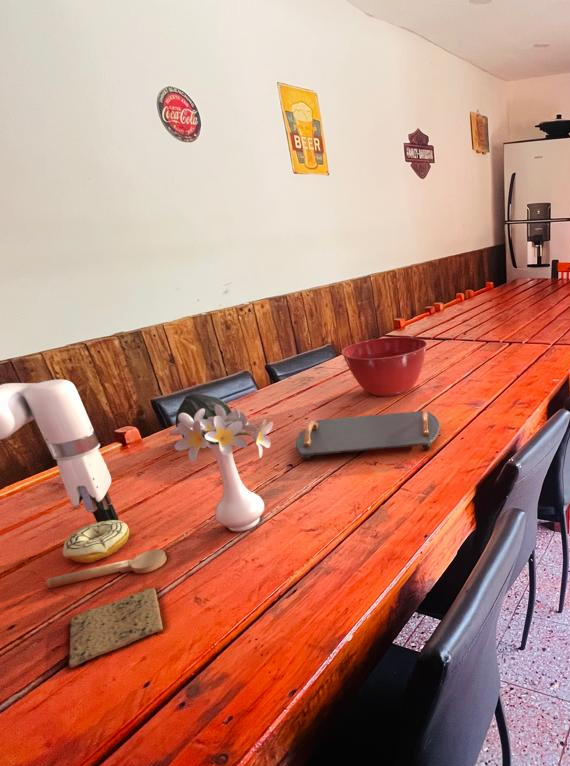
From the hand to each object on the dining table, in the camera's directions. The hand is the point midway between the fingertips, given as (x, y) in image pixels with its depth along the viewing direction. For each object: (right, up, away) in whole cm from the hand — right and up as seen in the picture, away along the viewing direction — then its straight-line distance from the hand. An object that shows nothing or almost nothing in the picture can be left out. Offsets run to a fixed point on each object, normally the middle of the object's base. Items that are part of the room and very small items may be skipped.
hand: (109, 523), depth 106 cm
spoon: (+10, -7, -13) cm, 18 cm away
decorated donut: (+2, -4, -6) cm, 7 cm away
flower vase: (+29, 0, 0) cm, 29 cm away
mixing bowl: (+46, +36, +72) cm, 92 cm away
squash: (0, +18, +41) cm, 45 cm away
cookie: (+19, -12, -25) cm, 34 cm away
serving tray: (+47, +18, +34) cm, 61 cm away
